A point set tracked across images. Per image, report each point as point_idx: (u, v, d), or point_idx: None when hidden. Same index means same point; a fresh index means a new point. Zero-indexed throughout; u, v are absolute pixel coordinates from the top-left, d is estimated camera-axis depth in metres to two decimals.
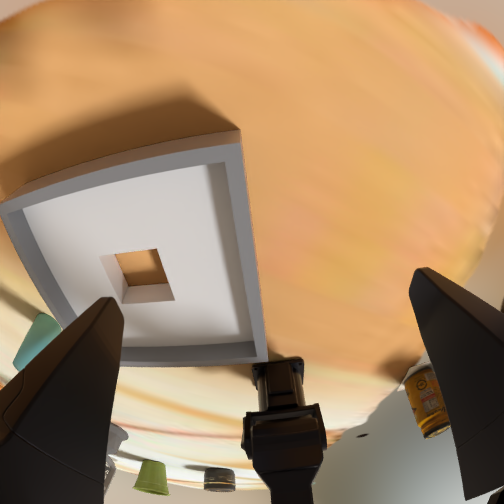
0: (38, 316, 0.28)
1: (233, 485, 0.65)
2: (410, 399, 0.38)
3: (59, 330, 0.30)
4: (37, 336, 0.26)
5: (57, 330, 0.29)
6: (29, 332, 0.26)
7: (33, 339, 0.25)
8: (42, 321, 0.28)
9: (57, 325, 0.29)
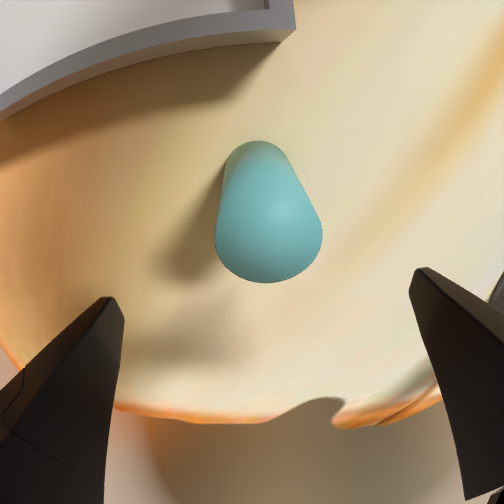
0: None
1: None
2: None
3: (267, 144, 0.16)
4: (226, 175, 0.14)
5: (261, 144, 0.15)
6: None
7: (222, 186, 0.13)
8: (225, 168, 0.16)
9: (253, 142, 0.16)
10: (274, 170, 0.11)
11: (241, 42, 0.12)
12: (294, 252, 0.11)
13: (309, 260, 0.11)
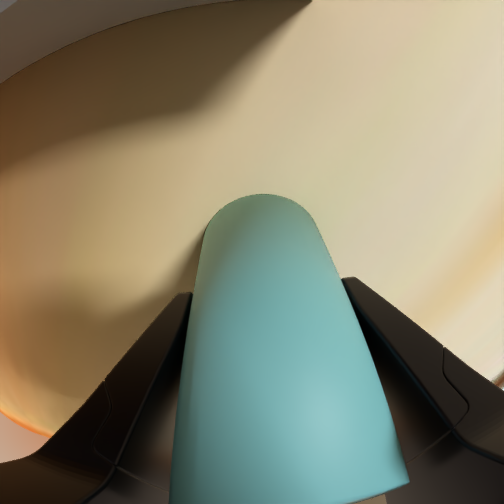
0: None
1: None
2: None
3: (283, 203, 0.08)
4: (196, 299, 0.06)
5: (270, 206, 0.08)
6: None
7: (187, 333, 0.06)
8: (201, 253, 0.08)
9: (254, 199, 0.08)
10: (314, 347, 0.04)
11: None
12: None
13: None
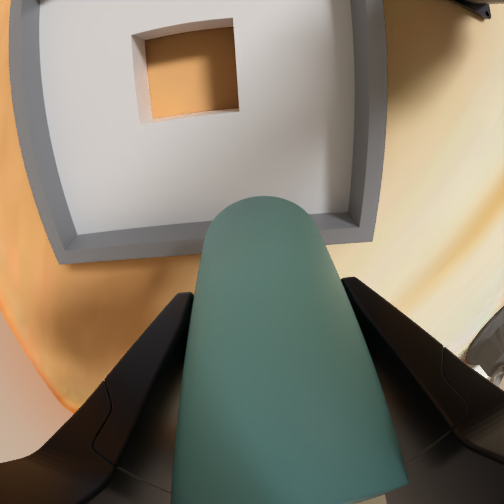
0: None
1: None
2: None
3: (283, 204, 0.08)
4: (197, 301, 0.06)
5: (271, 208, 0.08)
6: None
7: (189, 335, 0.06)
8: (202, 255, 0.08)
9: (255, 201, 0.08)
10: (315, 349, 0.04)
11: None
12: None
13: None
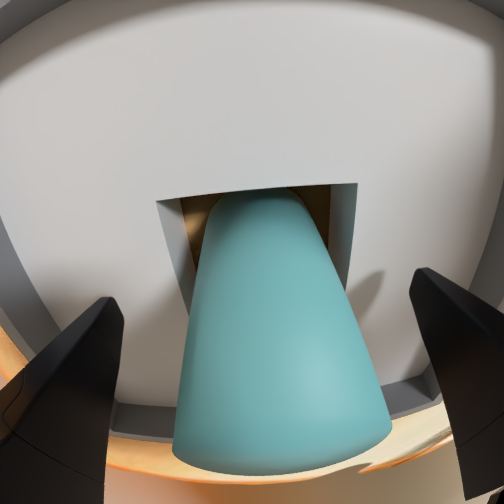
0: None
1: None
2: None
3: (278, 189, 0.09)
4: (201, 267, 0.07)
5: (266, 191, 0.09)
6: None
7: (193, 297, 0.07)
8: (205, 233, 0.09)
9: None
10: (300, 296, 0.05)
11: None
12: (329, 456, 0.04)
13: (352, 456, 0.05)
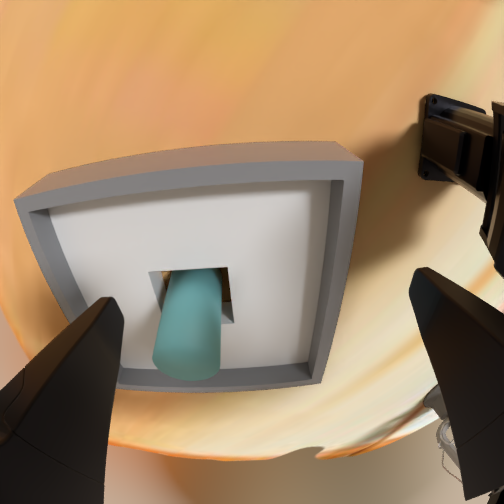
0: None
1: None
2: None
3: None
4: (165, 298, 0.18)
5: None
6: None
7: (162, 309, 0.18)
8: None
9: None
10: (191, 312, 0.16)
11: None
12: (203, 369, 0.16)
13: (214, 372, 0.16)
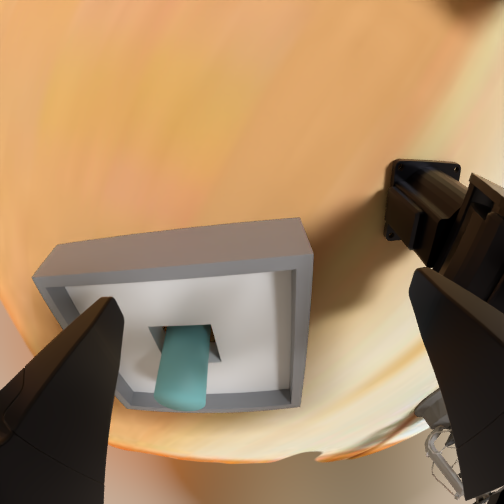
0: None
1: None
2: None
3: None
4: (163, 347, 0.22)
5: None
6: None
7: (161, 356, 0.22)
8: None
9: None
10: (182, 363, 0.20)
11: None
12: (193, 404, 0.19)
13: (201, 406, 0.20)
